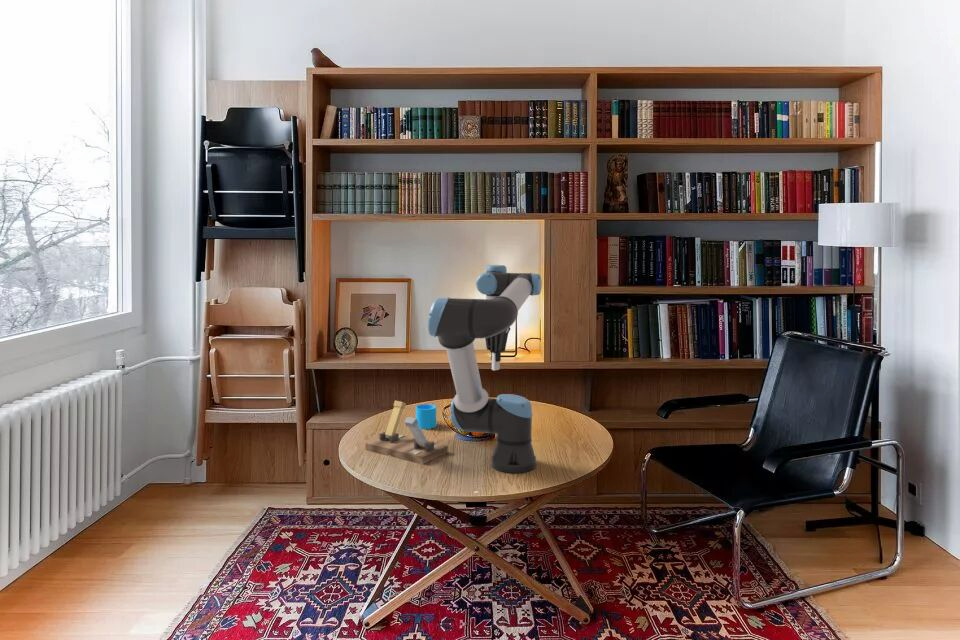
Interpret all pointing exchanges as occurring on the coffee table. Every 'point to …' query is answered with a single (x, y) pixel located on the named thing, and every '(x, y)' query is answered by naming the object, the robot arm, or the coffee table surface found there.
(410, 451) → the console
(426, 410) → the mug
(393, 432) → the ochre lever
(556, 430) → the coffee table surface
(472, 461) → the coffee table surface
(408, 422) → the grey lever
